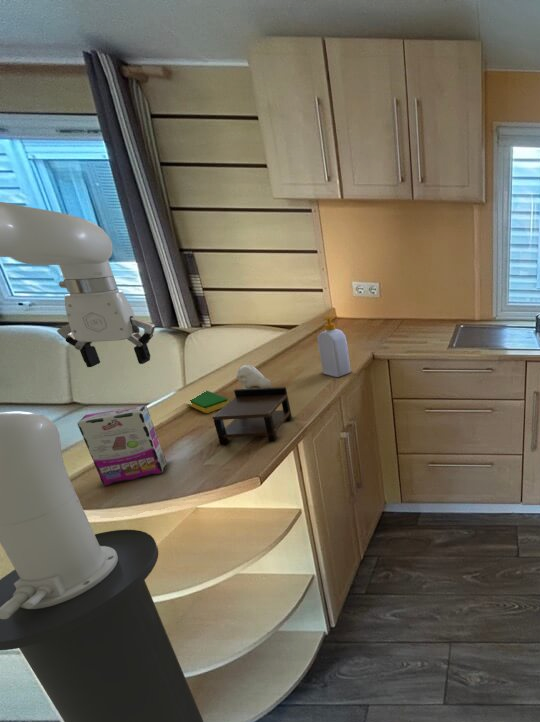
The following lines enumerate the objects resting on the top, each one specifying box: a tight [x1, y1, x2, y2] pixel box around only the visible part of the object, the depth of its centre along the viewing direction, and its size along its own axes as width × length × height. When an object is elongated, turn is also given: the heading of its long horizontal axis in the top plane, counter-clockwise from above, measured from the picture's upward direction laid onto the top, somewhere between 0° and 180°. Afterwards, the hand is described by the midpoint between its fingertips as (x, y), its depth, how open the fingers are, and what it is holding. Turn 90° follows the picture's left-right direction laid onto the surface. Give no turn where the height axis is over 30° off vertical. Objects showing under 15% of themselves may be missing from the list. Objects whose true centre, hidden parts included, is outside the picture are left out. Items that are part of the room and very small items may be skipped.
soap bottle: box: [317, 315, 352, 378], centre depth 157 cm, size 9×7×23 cm
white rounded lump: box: [236, 364, 272, 389], centre depth 144 cm, size 6×8×12 cm
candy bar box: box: [76, 404, 168, 486], centre depth 94 cm, size 11×5×16 cm, turn 118°
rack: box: [212, 386, 293, 446], centre depth 115 cm, size 14×14×10 cm
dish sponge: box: [187, 390, 230, 414], centre depth 133 cm, size 7×14×2 cm, turn 59°
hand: (119, 363), depth 90 cm, fingers open, 9 cm apart
